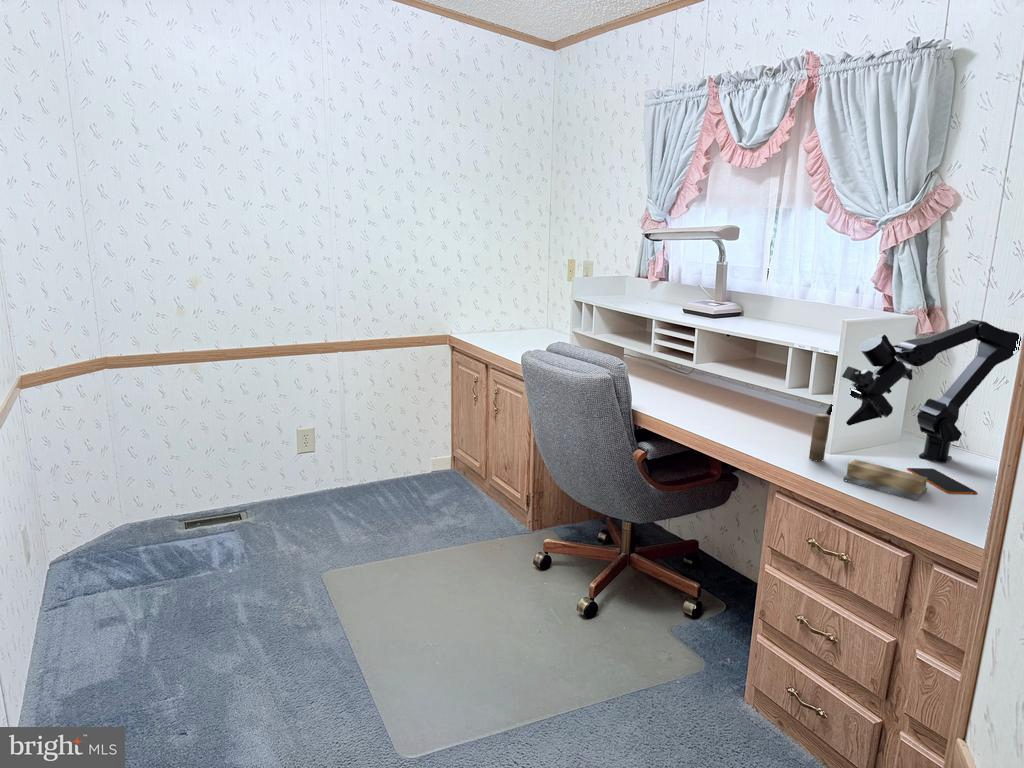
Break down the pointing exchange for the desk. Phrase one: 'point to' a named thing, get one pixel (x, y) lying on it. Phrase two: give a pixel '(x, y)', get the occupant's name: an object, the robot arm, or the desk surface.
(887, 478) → the oak ridge
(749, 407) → the desk surface
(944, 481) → the smartphone
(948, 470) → the desk surface
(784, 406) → the desk surface
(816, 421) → the walnut dowel
